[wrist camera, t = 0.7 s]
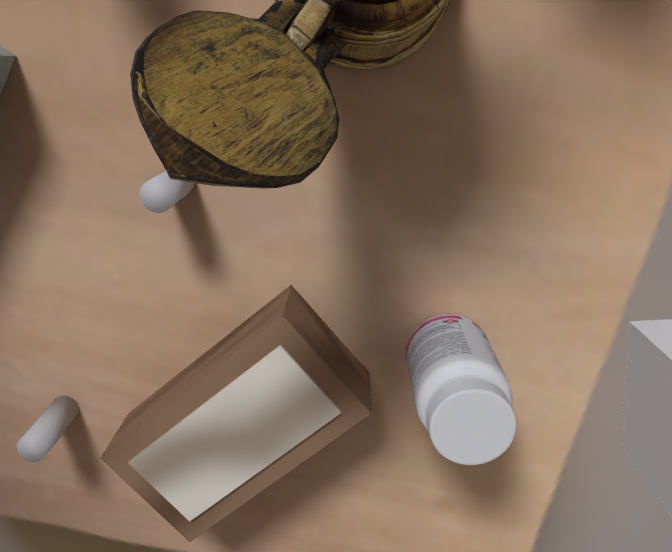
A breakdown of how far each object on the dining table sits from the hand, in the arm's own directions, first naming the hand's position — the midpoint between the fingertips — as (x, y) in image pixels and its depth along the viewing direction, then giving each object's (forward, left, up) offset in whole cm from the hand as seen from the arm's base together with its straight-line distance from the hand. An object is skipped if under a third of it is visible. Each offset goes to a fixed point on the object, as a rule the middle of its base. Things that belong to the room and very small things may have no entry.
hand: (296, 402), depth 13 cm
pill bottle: (+10, -5, -23) cm, 26 cm away
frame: (+2, -13, -23) cm, 27 cm away
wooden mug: (-4, +8, -23) cm, 25 cm away
